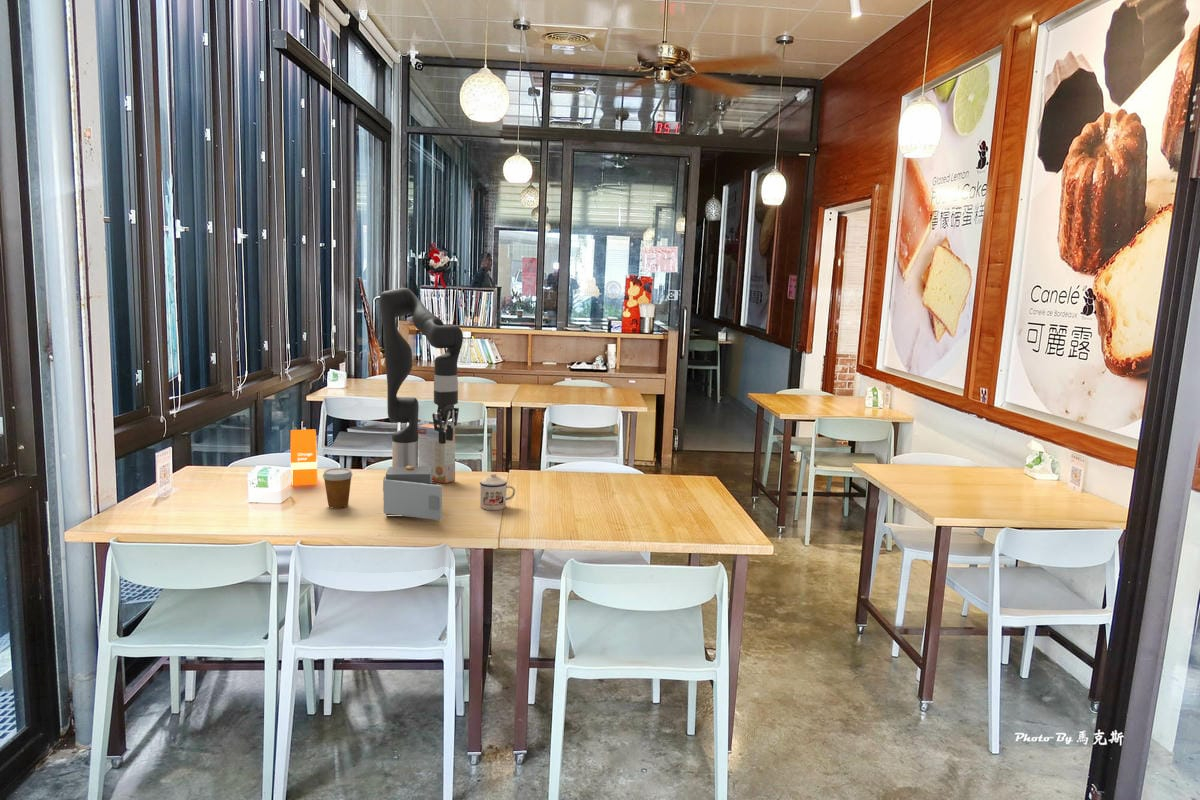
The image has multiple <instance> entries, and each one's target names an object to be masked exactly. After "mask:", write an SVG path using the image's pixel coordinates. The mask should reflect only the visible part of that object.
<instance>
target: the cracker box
mask: <svg viewBox="0 0 1200 800" xmlns="http://www.w3.org/2000/svg"><path fill="white" fill-rule="evenodd" d="M437 427H438V425H437ZM446 429H447V428H446ZM418 467H432V482H434V483H440V484H447V483H452V482H454V481H456V428H455V427H454V429H453V440H452V441H448V440H446V443H445V444H440V443H439V432H438V431H435V430H434V423H433V424H431V423H426V424H420V425H418Z"/></svg>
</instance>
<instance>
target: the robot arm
mask: <svg viewBox="0 0 1200 800" xmlns="http://www.w3.org/2000/svg"><path fill="white" fill-rule="evenodd" d="M379 308H380V316H381V323H382V328H383V338H384V340H383V341H384V361H385V372H386V380H387V381H386V383H387V384H386V385H387V388H386V389H387V396H386V397H387V403H386V404H387V417H388V419H389V421H390V423H403V424H404V423H408V425H407V426H406V427H404V428H403V429H400V430H396V431H394V432H393V433H392V435H391V443H392V444H391V445H392V446H391V449H392V450H391V451H392V454H391V455H392V464H391V465H392V466H391V467H406V466H413V467H419V450H418V426H419V411H420V410H419V406H420V405H419V402H418V399H417V397H413V396H412V397H410V396H409V397H408V396H406V397H404V396H403V397H402V396H398V392H399V390H400V388H401V386H402V385H403V383H404V381H406V379H407V377H408V376H409V375H410V373H411V371H412V369H413V352H412V351H413V350H412V347H411V345H410V344H409V342H408V341H407V340H406V339H405V338H404V337H403V335H402V334H401V332H399V330H398V328H397V323H396V318H398V317H400V318H401V317H402V316H407V315H413V316H412V320H413V321H412V323H413V325H414V327H415V328H416V330H418V332H420V333H422V334H423V335H425V337H426V340H427V341H428V343H429V345H430V346H431V347H433V348H435V349H446V351H445V353H443V354H441V355H439V356H436V357H435V359H434V378H433V403H434V405H437V409H436V412H434V413H432V415H431V416H432V421H433V422H432V423H433V425H434V430H435V431H438V432H439V443H440V444H445V443H446V440H448V441H452V440H453V429H454V428H455V427H457V425H458V420H459V411H460V410H459V409H460V408H459V407H455V405H458V402H459V379H458V361H459V356H460V352H461V349H462V346H463V342H464V335H463V331H462V329H461V328H460V327H459V326H458V325H452V324H451V325H445V324H444V321H442V320H441V318H439V317H438V316H436V315H435V313H432V312H431V311H429V309H427V307H426V305H424V303H423V302H422V301H421V300H420V299H419V297H417V295H416V294H415V292H413V291H412V290H411V289H409V288H407V287H400V288H394V289H390V290H385V291H382V292H381V293H380V295H379ZM437 425H438V427H437ZM446 428H447V429H446Z"/></svg>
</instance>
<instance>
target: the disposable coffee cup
mask: <svg viewBox="0 0 1200 800" xmlns="http://www.w3.org/2000/svg"><path fill="white" fill-rule="evenodd" d="M352 476H353V473H352V469H350V468H346V467H334V468H328V469H326V470H324V471H323V474H322V478H323V480H324V485H325V492H326V493H325V494H326V498H327V505H328V506H329V507H328V508H330V507H333V508H332V509H341V508H340V507H344V508H346V507H345V506H347V505H348V506H349V502H350V501H349V500H350V499H349V498H350V493H351V492H350V491H351V482H352ZM348 506H347V507H348Z"/></svg>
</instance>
